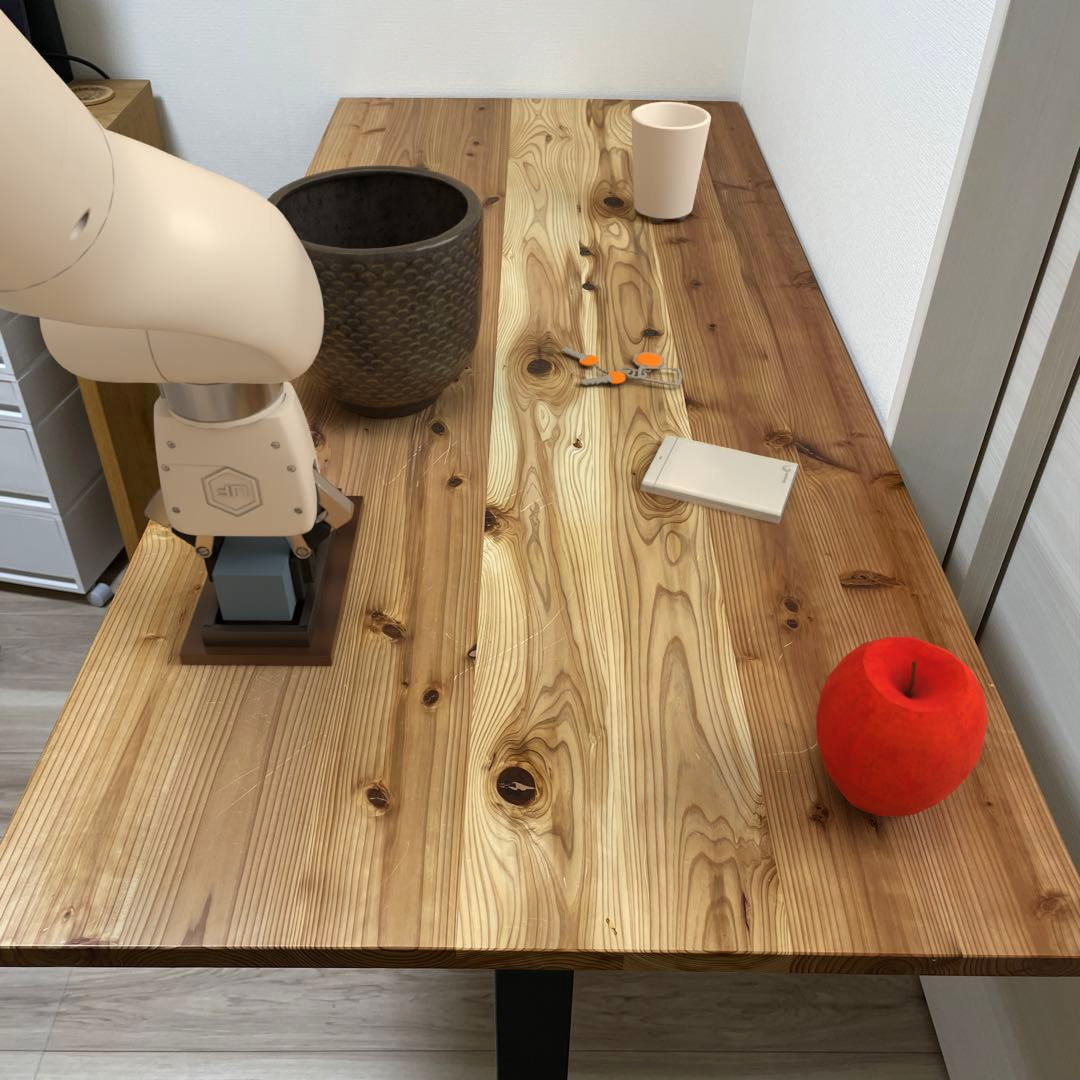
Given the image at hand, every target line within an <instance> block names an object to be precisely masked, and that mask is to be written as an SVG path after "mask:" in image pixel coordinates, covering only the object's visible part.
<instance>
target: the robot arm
mask: <svg viewBox="0 0 1080 1080" xmlns="http://www.w3.org/2000/svg"><path fill="white" fill-rule="evenodd" d="M0 310H3V311H7V312H11V313H13V314H14V313H15V314H19V315H24V316H28V317H33V318H34V317H35V318H39V325H40V326H39V327H40V332H41V334H42V338H43V341H44V344H45V346H46V349H47V350H48V352H49V354H50V355H51V356H52V357H53V359H54V360H55V361H56V362H57V363H58V364H59V365H60V366H61V367H62V368H63V369H65V370H66V371H68V372H70V373H71V374H73V375H75V376H77V377H79V378H83V379H86V380H92V381H96V382H102V383H115V384H116V383H117V384H132V383H133V384H152V385H156V386H157V388H158V389H159V393H160V395H159V397H158V398H157V399H156V401H155V403H154V405H153V431H154V432H153V433H154V443H155V454H156V462H157V467H158V469H157V470H158V476H159V483H160V486H159V487H158V488H157V489H156V491H155V492H154V494H153V495H152V496H151V497H150V499H149V501H148V503H147V505H146V507H145V510H144V513H143V514H144V517H146V518H147V519H149V520H150V521H152V522H154V523H156V524H158V525H160V526H162V527H164V528H166V529H170V530H171V532H172V534H173V535H174V536H175V537H178V538H179V539H181V540H182V541H183V542H185V543H187V544H188V545H190V546H191V547H193V548H194V553H195V555H196V556H198V557H199V558H202V559H203V561H204V564H205V565H204V566H205V568H206V573H207V574H208V577H209V580H210V582H214V581H213V577H212V573H213V570H214V568H215V565H216V562H217V559H218V556H219V553H220V550H221V548H222V545H223V542H224V539H225V536H284V537H285V539H286V540H287V542H288V544H289V546H290V547H291V554H290V558H289V566H290V571H291V577H292V582H293V587H294V593H295V597H297V599H305V597H306V592H307V588H308V584H309V583H315V580H316V576H317V566H316V560H315V554H314V548H315V547H316V546H318V545H319V544H320V543H321V542H322V541H323V540H325V539H326V538H327V537H328V536H329V535H330V532H332V531H333V530H336V529H338V528H339V527H341V526H342V525H344V524H345V523H347V522H348V521H350V520H351V519H352V515H353V511H354V503H353V502H352V501H351V500H350V499H348V498H347V497H346V496H347V495H345V494H344V493H343V491H342V492H340V491H339V490H338V489H337V488H338V487H336V486H335V485H334V484H333V483H331V481H329V480H328V479H327V478H326V477H324V475H322V474H321V469H320V464H319V459H318V457H317V456H318V455H317V452H316V447H315V443H314V440H313V436H312V433H311V429H310V426H309V423H308V419H307V417H306V414H305V411H304V409H303V407H302V403H301V402H300V398H299V397H298V395H297V392H296V390H295V388H294V386H293V385H292V383H291V382H290V381H293V380H296V379H298V378H299V377H301V376H302V375H304V374H303V373H305V372H306V371H307V370H308V368H309V367H310V366H311V365H312V363H313V361H314V359H315V358H316V356H317V354H318V351H319V348H320V345H321V341H322V336H323V327H324V308H323V300H322V294H321V290H320V286H319V283H318V279H317V276H316V273H315V270H314V268H313V265H312V263H311V260H310V258H309V256H308V255H307V253H306V251H305V249H304V247H303V245H302V243H301V242H300V240H299V238H298V237H297V235H296V234H295V232H294V230H293V229H292V227H291V225H290V224H289V222H288V221H287V220H286V218H285V217H284V215H283V214H282V213H281V212H280V211H279V210H278V209H277V208H276V207H275V206H274V205H273V204H271V203H270V202H269V201H267V198H265V197H263V196H262V195H261V194H259V193H257V192H256V191H254V190H252V189H250V188H249V187H248V186H245V185H243V184H241V183H238V182H236V181H234V180H232V179H230V178H228V177H226V176H223V175H221V174H219V173H216V172H214V171H211V170H208V169H206V168H203V167H201V166H198V165H196V164H194V163H191V162H189V161H187V160H184V159H183V158H180V157H177V156H175V155H172V154H170V153H168V152H166V151H163V150H161V149H159V148H157V147H155V146H152V145H150V144H148V143H144V142H142V141H139V140H137V139H134V138H132V137H128V136H126V135H123V134H120V133H118V132H114V131H112V130H110V129H105V128H104V127H103V125H102V124H101V123H100V121H99V120H97V118H96V117H95V115H94V114H93V113H92V112H91V111H90V110H89V109H88V107H87V106H86V105H85V104H83V102H82V101H81V100H80V99H79V97H78V96H77V95H76V94H75V93H74V92H73V91H72V89H70V87H69V86H68V85H67V84H66V83H65V81H64V80H63V79H62V78H61V77H60V75H59V74H57V73H56V72H55V70H54V69H53V68H52V67H51V66H50V65H49V63H48V62H47V61H46V59H44V57H43V56H41V54H40V53H39V52H38V50H37V49H36V48H35V47H34V46H33V45H32V44H31V43H30V41H29V40H28V39H27V38H26V37H25V36H24V35H23V34H22V32H21V31H20V30H19V29H18V28H17V27H16V25H14V23H13V22H12V21H11V19H10V18H8V16H7V15H6V13H4V11H3V10H2V9H0ZM317 503H318V504H319V505H321V506H322V507H323V508H324V509H325V510H326V511H321V512H319V513H318V514H317Z"/></svg>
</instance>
